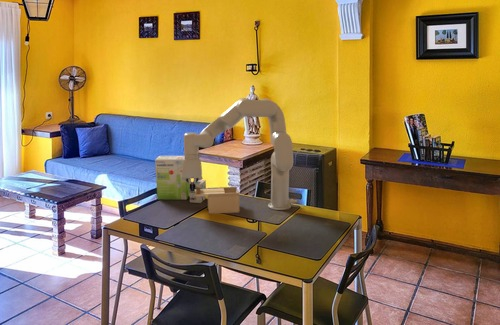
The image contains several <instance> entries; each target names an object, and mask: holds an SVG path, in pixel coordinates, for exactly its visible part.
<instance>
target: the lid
mask: <svg viewBox="0 0 500 325" xmlns="http://www.w3.org/2000/svg"><path fill="white" fill-rule="evenodd" d="M215 193H225V191H224V188H217V189H207V188H206V189H200V184H196V189H195V197H196V196H206V197H208V196H209V194H215Z"/></svg>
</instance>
